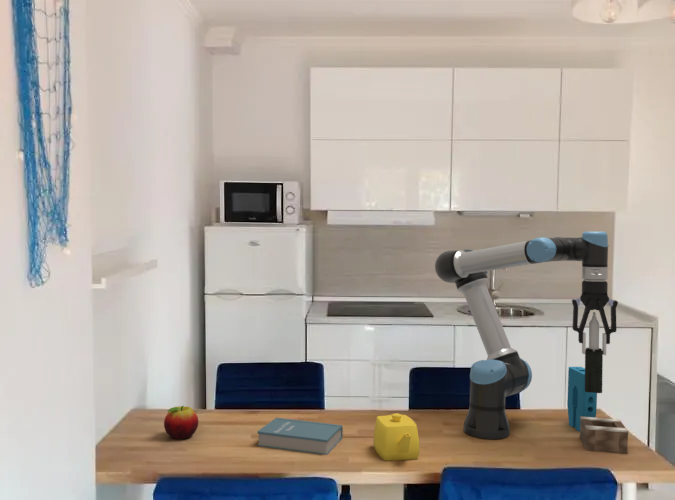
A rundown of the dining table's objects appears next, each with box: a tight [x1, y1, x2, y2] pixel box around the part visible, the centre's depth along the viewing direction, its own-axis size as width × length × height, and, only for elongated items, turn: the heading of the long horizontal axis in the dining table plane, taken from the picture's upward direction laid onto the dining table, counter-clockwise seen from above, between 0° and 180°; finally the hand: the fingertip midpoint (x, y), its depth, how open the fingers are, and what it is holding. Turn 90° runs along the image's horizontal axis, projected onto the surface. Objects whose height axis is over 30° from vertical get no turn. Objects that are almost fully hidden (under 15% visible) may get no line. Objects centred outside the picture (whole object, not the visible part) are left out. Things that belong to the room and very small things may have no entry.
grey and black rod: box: [584, 311, 604, 394], centre depth 205 cm, size 5×5×25 cm
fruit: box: [163, 405, 199, 440], centre depth 208 cm, size 11×11×10 cm
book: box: [257, 417, 344, 456], centre depth 205 cm, size 23×16×5 cm
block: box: [566, 366, 598, 433], centre depth 224 cm, size 12×5×20 cm, turn 8°
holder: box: [579, 416, 629, 454], centre depth 207 cm, size 12×12×7 cm
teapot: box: [373, 412, 420, 462], centre depth 196 cm, size 20×12×12 cm, turn 12°
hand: (593, 353), depth 205 cm, fingers closed on grey and black rod, 5 cm apart
